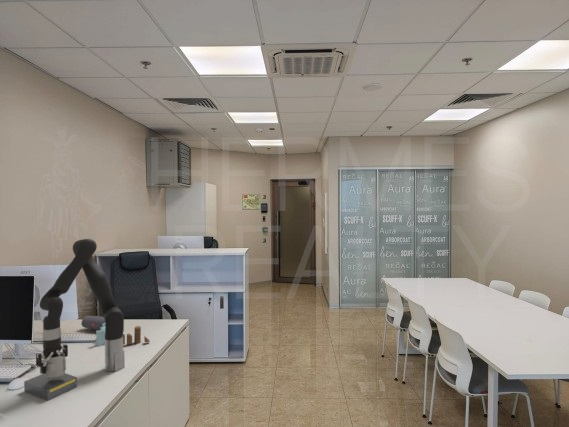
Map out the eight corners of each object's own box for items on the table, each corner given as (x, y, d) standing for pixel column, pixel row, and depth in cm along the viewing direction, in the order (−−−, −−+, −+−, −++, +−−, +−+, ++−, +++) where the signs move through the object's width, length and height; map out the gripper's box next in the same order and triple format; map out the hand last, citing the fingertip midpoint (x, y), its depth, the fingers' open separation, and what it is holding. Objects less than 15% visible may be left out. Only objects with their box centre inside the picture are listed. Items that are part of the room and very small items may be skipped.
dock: (77, 387, 176) (77, 377, 176) (47, 400, 164) (47, 390, 163) (53, 379, 185) (53, 369, 184) (24, 391, 172) (24, 381, 172)
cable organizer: (45, 375, 176) (44, 353, 176) (68, 373, 177) (68, 352, 177) (38, 380, 170) (37, 359, 170) (62, 379, 171) (61, 357, 171)
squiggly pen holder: (113, 344, 232) (112, 330, 232) (96, 346, 229) (96, 331, 229) (115, 335, 249) (115, 321, 249) (100, 336, 246) (100, 323, 246)
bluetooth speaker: (80, 330, 258) (80, 317, 258) (91, 326, 267) (90, 313, 267) (105, 333, 252) (105, 319, 252) (115, 329, 261) (115, 316, 261)
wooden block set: (119, 349, 224) (119, 333, 223) (118, 343, 231) (119, 328, 231) (149, 344, 232) (150, 329, 231) (148, 339, 240) (148, 324, 239)
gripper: (41, 343, 165) (41, 377, 165) (71, 333, 178) (71, 365, 178) (31, 340, 168) (32, 374, 169) (62, 331, 181) (62, 362, 181)
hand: (52, 369), depth 173 cm, fingers closed on cable organizer, 7 cm apart
